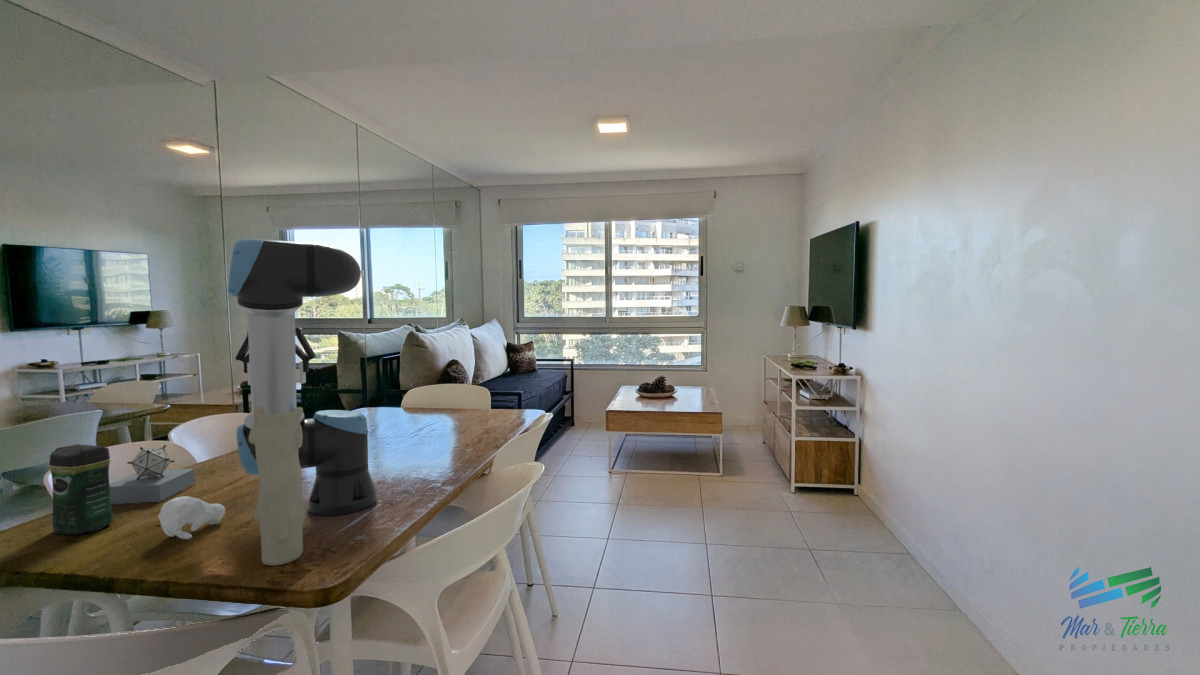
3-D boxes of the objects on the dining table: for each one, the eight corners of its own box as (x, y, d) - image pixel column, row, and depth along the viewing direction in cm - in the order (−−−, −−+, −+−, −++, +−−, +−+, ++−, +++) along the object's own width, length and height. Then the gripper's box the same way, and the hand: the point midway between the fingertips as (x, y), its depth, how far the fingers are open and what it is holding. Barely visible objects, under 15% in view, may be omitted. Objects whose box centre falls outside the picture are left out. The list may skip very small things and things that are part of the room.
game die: (153, 492, 130) (145, 468, 125) (124, 480, 130) (114, 456, 125) (185, 467, 138) (178, 443, 132) (157, 455, 138) (149, 431, 132)
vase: (245, 568, 94) (240, 409, 92) (274, 546, 102) (270, 401, 101) (291, 568, 94) (287, 409, 92) (317, 547, 102) (313, 401, 101)
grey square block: (160, 504, 126) (159, 484, 126) (102, 506, 124) (101, 487, 124) (195, 486, 139) (194, 468, 138) (142, 488, 137) (142, 470, 137)
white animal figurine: (155, 499, 105) (214, 485, 116) (152, 540, 104) (212, 523, 116) (176, 502, 103) (234, 488, 114) (173, 545, 102) (232, 526, 114)
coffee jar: (121, 522, 113) (117, 442, 113) (78, 538, 106) (73, 451, 105) (89, 519, 116) (85, 439, 115) (44, 533, 108) (40, 448, 107)
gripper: (326, 311, 153) (327, 380, 154) (233, 311, 147) (235, 383, 148) (318, 311, 146) (319, 384, 147) (219, 311, 140) (222, 386, 141)
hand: (277, 383), depth 147 cm, fingers open, 13 cm apart
